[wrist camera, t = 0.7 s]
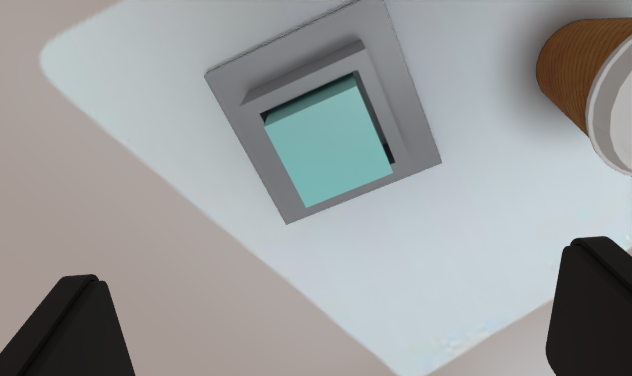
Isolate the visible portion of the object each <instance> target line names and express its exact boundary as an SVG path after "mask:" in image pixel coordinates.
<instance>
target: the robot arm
mask: <svg viewBox="0 0 632 376" xmlns="http://www.w3.org/2000/svg"><path fill="white" fill-rule="evenodd" d="M546 356H547V360H548V363H549V365H550V366H551V368H552V369H553V371H554V373H555V374H556V376H632V256H630V255H629V254H628V253H627V252H626V251H624V250H623V249H622V248H621V247H620V246H618V245H617V244H616V243H615V242H614V241H612V240H611V239H610V238H608V237H605V236H599V237H586V238H576V239H574V240H573V241H572V242H571V244H570V246H566V247H565V248H564V249H563V252H562V257H561V263H560V269H559V274H558V280H557V286H556V291H555V297H554V303H553V308H552V314H551V320H550V325H549V331H548V337H547V342H546ZM0 376H135V373H134V370H133V366H132V363H131V360H130V356H129V353H128V350H127V347H126V343H125V340H124V337H123V334H122V330H121V327H120V324H119V321H118V317H117V314H116V311H115V308H114V305H113V301H112V298H111V295H110V291H109V288H108V285H107V283H106V282H105V281H99V279H98V278H97V276H96V275H93V274H89V275H75V276H65V277H62V278H61V279H60V280H59V281H58V282H57V284H56V285H55V286H54V288H53V289H52V290H51V291H50V292H49V294H48V295H47V296H46V297H45V299H44V300H43V301H42V302H41V304H40V305H39V306H38V307H37V308H36V310H35V311H34V312H33V313H32V315H31V316H30V317H29V318H28V320H27V321H26V322H25V324H24V325H23V326H22V327H21V328H20V330H19V331H18V332H17V333H16V335H15V336H14V337H13V338H12V339H11V341H10V342H9V343H8V344H7V346H6V347H5V348H4V349H3V351H2V352H1V353H0Z"/></svg>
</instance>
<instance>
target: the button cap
mask: <svg viewBox="0 0 632 376" xmlns="http://www.w3.org/2000/svg"><path fill="white" fill-rule="evenodd" d="M264 129H265V130H266V132H267V134H268V136H269V138H270V140H271V142H272V144H273V146H274V148H275V149H276V151H277V153H278V155H279V157H280V159H281V161H282V163H283V165H284V167H285V169H286V170H287V172H288V174H289V176H290V178H291V180H292V182H293V184H294V186H295V188H296V190H297V191H298V193H299V195H300V197H301V199H302V201H303V203H304V205H305V207H306V208H307V207H310V206H312V205H315V204H317V203H320V202H322V201H325V200H327V199H330V198H332V197H335V196H337V195H340V194H342V193H345V192H347V191H350V190H352V189H355V188H357V187H360V186H362V185H364V184H367V183H369V182H372V181H374V180H377V179H379V178H382V177H384V176H387V175H389V174H392V173H393V171H392V168H391V166H390V163H389V160H388V157H387V155H386V152H385V150H384V147H383V145H382V142H381V140H380V138H379V135H378V133H377V130H376V128H375V125H374V123H373V121H372V118H371V116H370V113H369V111H368V109H367V106H366V104H365V101H364V99H363V97H362V94H361V92H360V89H359V87H358V85H357V82H356V80H355V77H354V75H353V73H349V74H347V75H345V76H343V77H341V78H338V79H336V80H334V81H332V82H330V83H327V84H325V85H323V86H321V87H318V88H316V89H314V90H312V91H310V92H307V93H305V94H303V95H301V96H298V97H296V98H294V99H292V100H290V101H287V102H285V103H283V104H281V105H279V106H276V107H274V108H272V109H270V110H269V113H268V116H267V119H266V122H265V125H264Z"/></svg>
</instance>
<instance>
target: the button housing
mask: <svg viewBox="0 0 632 376" xmlns="http://www.w3.org/2000/svg"><path fill="white" fill-rule="evenodd" d="M349 73H353V75H354V77H355V80H356V82H357V85H358V87H359V89H360V92H361V94H362V97H363V99H364V101H365V104H366V106H367V109H368V111H369V113H370V116H371V118H372V121H373V123H374V125H375V128H376V130H377V133H378V135H379V138H380V140H381V142H382V145H383V147H384V150H385V152H386V155H387V157H388V160H389V163H390V166H391V168H392V171H393V173H392V174H389V175H387V176H384V177H382V178H379V179H377V180H374V181H372V182H369V183H367V184H364V185H362V186H360V187H357V188H355V189H352V190H350V191H347V192H345V193H342V194H340V195H337V196H335V197H332V198H330V199H327V200H325V201H322V202H320V203H317V204H315V205H312V206H310V207H307V208H306V207H305V205H304V203H303V201H302V199H301V197H300V195H299V193H298V191H297V190H296V188H295V186H294V184H293V182H292V180H291V178H290V176H289V174H288V172H287V170H286V169H285V167H284V165H283V163H282V161H281V159H280V157H279V155H278V153H277V151H276V149H275V148H274V146H273V144H272V142H271V140H270V138H269V136H268V134H267V132H266V130H265V129H264V125H265V122H266V119H267V116H268V113H269V110H270V109H272V108H274V107H276V106H279V105H281V104H283V103H285V102H287V101H290V100H292V99H294V98H296V97H298V96H301V95H303V94H305V93H307V92H310V91H312V90H314V89H316V88H318V87H321V86H323V85H325V84H327V83H330V82H332V81H334V80H336V79H338V78H341V77H343V76H345V75H347V74H349ZM204 78H205V79H206V81H207V83H208V85H209V87H210V88H211V90H212V92H213V94H214V96H215V97H216V99H217V101H218V103H219V105H220V106H221V108H222V110H223V112H224V114H225V115H226V117H227V119H228V121H229V123H230V124H231V126H232V128H233V130H234V132H235V133H236V135H237V137H238V139H239V141H240V142H241V144H242V146H243V148H244V150H245V151H246V153H247V155H248V157H249V159H250V160H251V162H252V164H253V166H254V168H255V169H256V171H257V173H258V175H259V177H260V178H261V180H262V182H263V184H264V186H265V187H266V189H267V191H268V193H269V195H270V196H271V198H272V200H273V202H274V204H275V205H276V207H277V209H278V211H279V213H280V214H281V216H282V218H283V220H284V222H285V223H286V225H287V224H290V223H292V222H295V221H297V220H300V219H302V218H305V217H307V216H310V215H312V214H315V213H317V212H320V211H322V210H325V209H327V208H330V207H332V206H335V205H337V204H340V203H342V202H345V201H347V200H350V199H353V198H355V197H358V196H360V195H363V194H365V193H368V192H370V191H373V190H375V189H378V188H380V187H383V186H385V185H388V184H390V183H393V182H395V181H398V180H400V179H403V178H405V177H408V176H410V175H413V174H415V173H418V172H420V171H423V170H425V169H428V168H431V167H433V166H436V165H438V164H441V163H442V161H441V158H440V155H439V153H438V150H437V147H436V144H435V142H434V139H433V136H432V133H431V131H430V128H429V125H428V122H427V119H426V117H425V114H424V111H423V108H422V106H421V103H420V100H419V97H418V95H417V92H416V89H415V86H414V84H413V81H412V78H411V75H410V73H409V70H408V67H407V64H406V62H405V59H404V56H403V53H402V51H401V48H400V45H399V42H398V40H397V37H396V34H395V31H394V29H393V26H392V23H391V20H390V18H389V15H388V12H387V9H386V6H385V4H384V1H383V0H357V1H355V2H353V3H351V4H349V5H347V6H345V7H343V8H340V9H338V10H336V11H334V12H332V13H330V14H328V15H326V16H324V17H322V18H320V19H318V20H315V21H313V22H311V23H309V24H307V25H305V26H303V27H301V28H299V29H297V30H295V31H293V32H290V33H288V34H286V35H284V36H282V37H280V38H278V39H276V40H274V41H272V42H270V43H268V44H266V45H263V46H261V47H259V48H257V49H255V50H253V51H251V52H249V53H247V54H245V55H243V56H241V57H238V58H236V59H234V60H232V61H230V62H228V63H226V64H224V65H222V66H220V67H218V68H216V69H213V70H211V71H209V72H207V73H206V74H205V75H204Z"/></svg>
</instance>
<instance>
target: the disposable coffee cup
mask: <svg viewBox="0 0 632 376" xmlns="http://www.w3.org/2000/svg"><path fill="white" fill-rule="evenodd" d="M536 77H537V81H538V84H539V86H540V88H541V90H542V92H543V93H544V94H545V95H546V96H547V97H548V98H549V99H550V100H551V101H552V102H553V103H554V104H555V105H556V106H557V107H558V108H559V109H560V110H561V111H562V112H563V113H564V114H565V115H566V116H567V117H569V118H570V119H571V120H572V121H573V122H574V123H575V124H576V125H577V126H578V127H579V128H580V129H581V130H582V131H583V132H584V133H585V134H586V135H587V136H588V137H589V138H590V141H591V143H592V146H593V148H594V150H595V152H596V153H597V154H598V155H599V157H600V158H601V159H602V160H603V161H604V162H605V163H606V164H607V165H608V166H610V167H611V168H612V169H614V170H616V171H618V172H620V173H622V174H624V175H628V176H631V177H632V18H612V19H610V18H608V19H584V20H578V21H575V22H572V23H570V24H568V25H566V26H564V27H562V28H561V29H560V30H558V31H557V32H556V33H554V34H553V35H552V37H551V38H550V39H549V40H548V41H547V43H546V44H545V46H544V47H543V49H542V51H541V53H540V55H539V58H538V61H537V68H536Z"/></svg>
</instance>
